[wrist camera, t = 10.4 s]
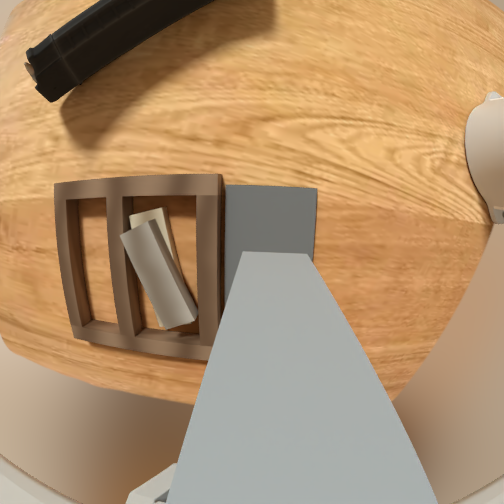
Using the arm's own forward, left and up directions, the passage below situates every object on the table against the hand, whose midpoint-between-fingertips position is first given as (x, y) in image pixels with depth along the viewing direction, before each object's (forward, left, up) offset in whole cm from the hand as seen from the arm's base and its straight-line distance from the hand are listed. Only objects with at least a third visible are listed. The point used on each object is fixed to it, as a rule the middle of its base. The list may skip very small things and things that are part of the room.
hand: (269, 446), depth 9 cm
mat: (0, 0, -22) cm, 22 cm away
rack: (+15, 0, -22) cm, 26 cm away
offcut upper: (+11, 0, -21) cm, 23 cm away
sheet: (0, 0, -6) cm, 6 cm away
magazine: (+14, -30, -22) cm, 40 cm away
